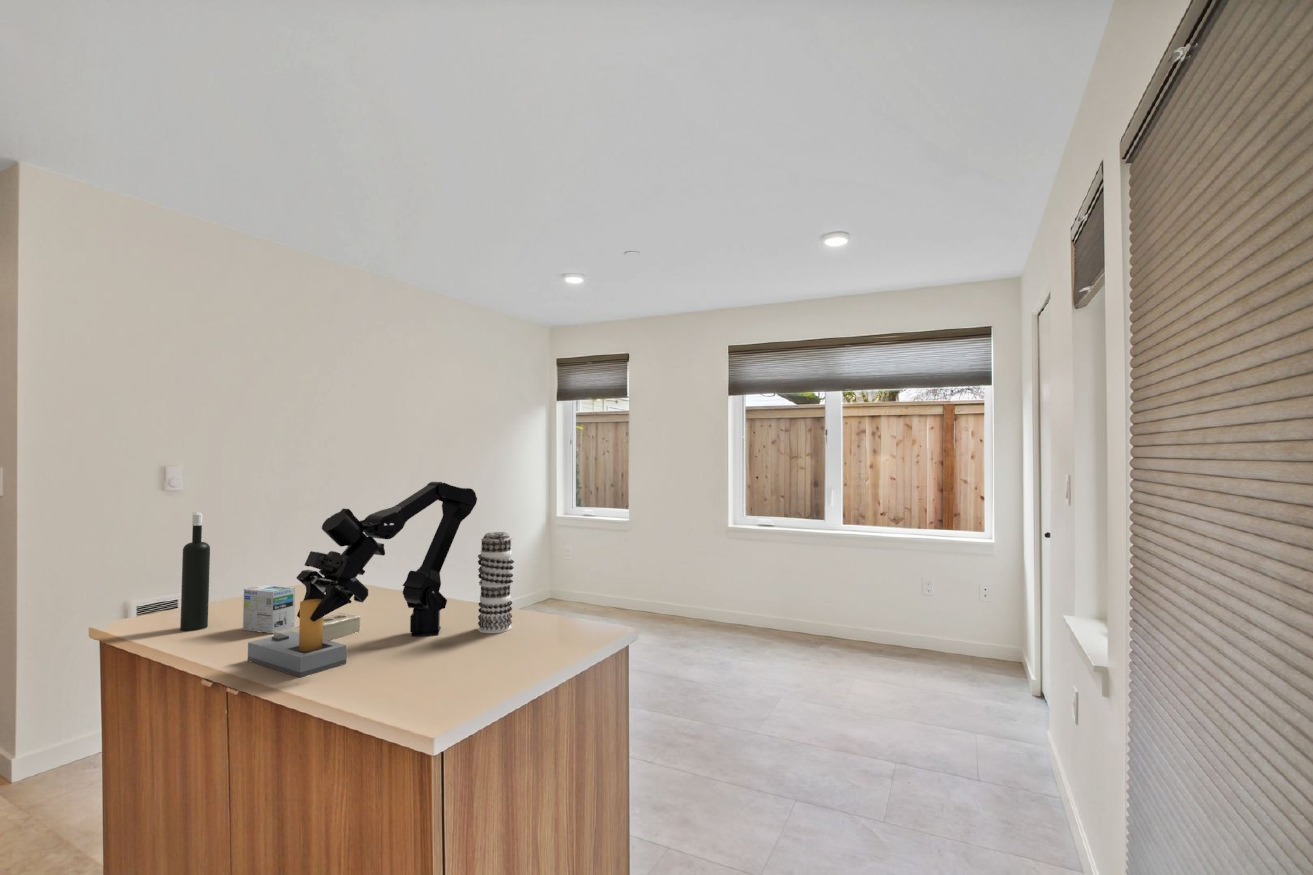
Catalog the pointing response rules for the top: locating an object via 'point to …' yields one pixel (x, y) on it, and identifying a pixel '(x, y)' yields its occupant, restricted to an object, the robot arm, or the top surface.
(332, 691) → the top surface
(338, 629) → the electrical outlet
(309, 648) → the orange cylinder
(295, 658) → the grey block with pocket
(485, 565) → the decorative candle
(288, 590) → the light bulb box
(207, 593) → the wine bottle
